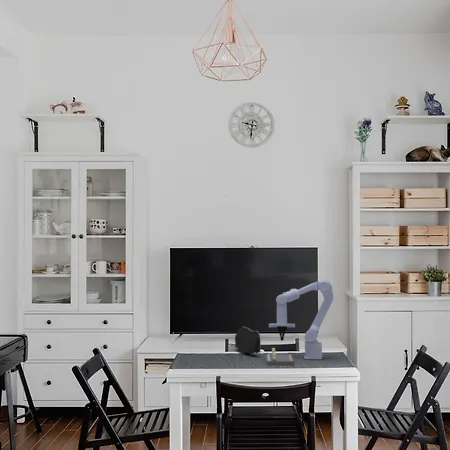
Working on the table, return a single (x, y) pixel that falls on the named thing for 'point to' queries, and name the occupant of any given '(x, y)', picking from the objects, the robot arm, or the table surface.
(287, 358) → the board
